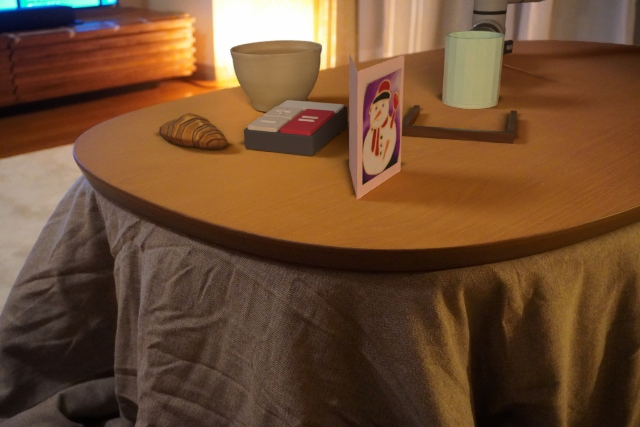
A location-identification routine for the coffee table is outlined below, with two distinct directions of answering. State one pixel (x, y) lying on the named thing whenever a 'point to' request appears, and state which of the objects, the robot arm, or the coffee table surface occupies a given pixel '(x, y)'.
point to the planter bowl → (276, 70)
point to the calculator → (296, 127)
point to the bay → (457, 130)
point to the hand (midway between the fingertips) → (473, 59)
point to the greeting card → (375, 123)
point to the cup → (472, 69)
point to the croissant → (193, 133)
